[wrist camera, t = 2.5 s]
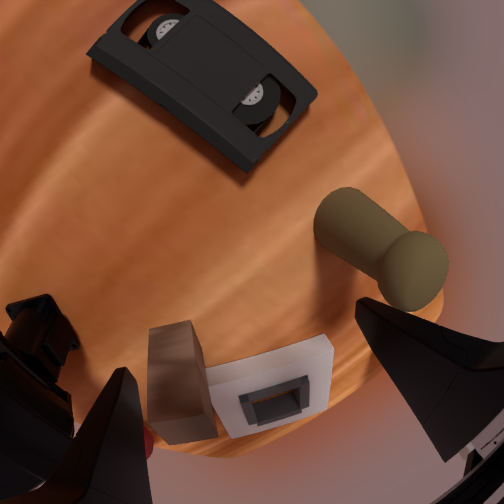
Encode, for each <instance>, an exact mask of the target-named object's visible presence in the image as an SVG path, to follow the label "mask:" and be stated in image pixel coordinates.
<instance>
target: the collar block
mask: <svg viewBox="0 0 504 504" xmlns="http://www.w3.org/2000/svg"><path fill="white" fill-rule="evenodd" d="M333 356H334V347H333V346H332V344H331V343H330V341H329V340H328V338H327V337H326V335H325V334H321V335H318V336H315V337H313V338H310V339H307V340H304V341H301V342H298V343H295V344H292V345H288V346H285V347H282V348H279V349H276V350H272V351H269V352H265V353H262V354H259V355H255V356H251V357H248V358H244V359H241V360H237V361H233V362H229V363H225V364H221V365H217V366H213V367H209V368H205V371H206V376H207V382H208V387H209V393H210V398H211V403H212V405H213V407H214V409H215V411H216V413H217V414H218V416H219V418H220V420H221V422H222V423H223V425H224V427H225V429H226V430H227V432H228V434H229V436H230V437H231V439H234V438H238V437H242V436H246V435H250V434H254V433H258V432H261V431H265V430H268V429H272V428H275V427H278V426H282V425H285V424H288V423H291V422H294V421H297V420H300V419H303V418H306V417H308V416H311V415H314V414H316V413H319V412H322V411H324V410H327V407H328V400H329V392H330V384H331V376H332V366H333ZM292 389H293V392H291V393H288V394H285V395H282V396H279V397H275V398H272V399H269V400H265V401H262V402H258V403H255V404H252V401H256V400H259V399H263V398H266V397H270V396H273V395H276V394H279V393H283V392H286V391H289V390H292Z"/></svg>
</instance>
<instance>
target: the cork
mask: <svg viewBox="0 0 504 504" xmlns="http://www.w3.org/2000/svg"><path fill="white" fill-rule="evenodd" d="M314 233H315V236H316V239H317V241H318V242H319V243H320V245H321V246H322V247H324V248H326V249H327V250H329V251H330V252H332V253H334V254H335V255H337V256H338V257H340V258H342V259H343V260H345V261H346V262H348V263H349V264H351V265H353V266H354V267H356V268H357V269H359V270H360V271H362V272H364V273H365V274H367V275H368V276H370V277H371V278H373V279H374V280H376V281H377V282H378V288H379V290H380V292H381V293H382V295H383V297H384V299H385V300H386V301H387V302H388V303H389V304H390V305H391V306H393V307H395V308H397V309H399V310H402V311H405V312H414V311H417V310H419V309H422V308H423V307H425V306H426V305H427V304H429V303H430V302H431V301H432V300H433V299H434V298H435V297H436V296H437V294H438V293H439V292H440V290H441V289H442V287H443V285H444V282H445V280H446V277H447V273H448V267H449V260H448V255H447V252H446V250H445V248H444V247H443V246H442V244H441V243H440V242H439V241H438V240H437V239H436V238H435V237H433V236H432V235H430V234H427V233H424V232H419V231H412V232H410V231H409V230H408V229H407V228H406V227H404V226H403V225H402V224H401V223H400V222H399V221H397V220H396V219H395V218H394V217H393V216H391V215H390V214H389V213H388V212H386V211H385V210H384V209H383V208H382V207H380V206H379V205H378V204H376V203H375V202H374V201H373V200H371V199H370V198H369V197H367V196H366V195H365V194H364V193H362V192H361V191H360V190H358V189H355V188H352V187H345V188H339V189H337V190H335V191H333V192H331V193H330V194H329V195H328V196H327V197H325V198H324V199H323V201H322V202H321V204H320V205H319V207H318V209H317V211H316V214H315V218H314Z"/></svg>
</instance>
